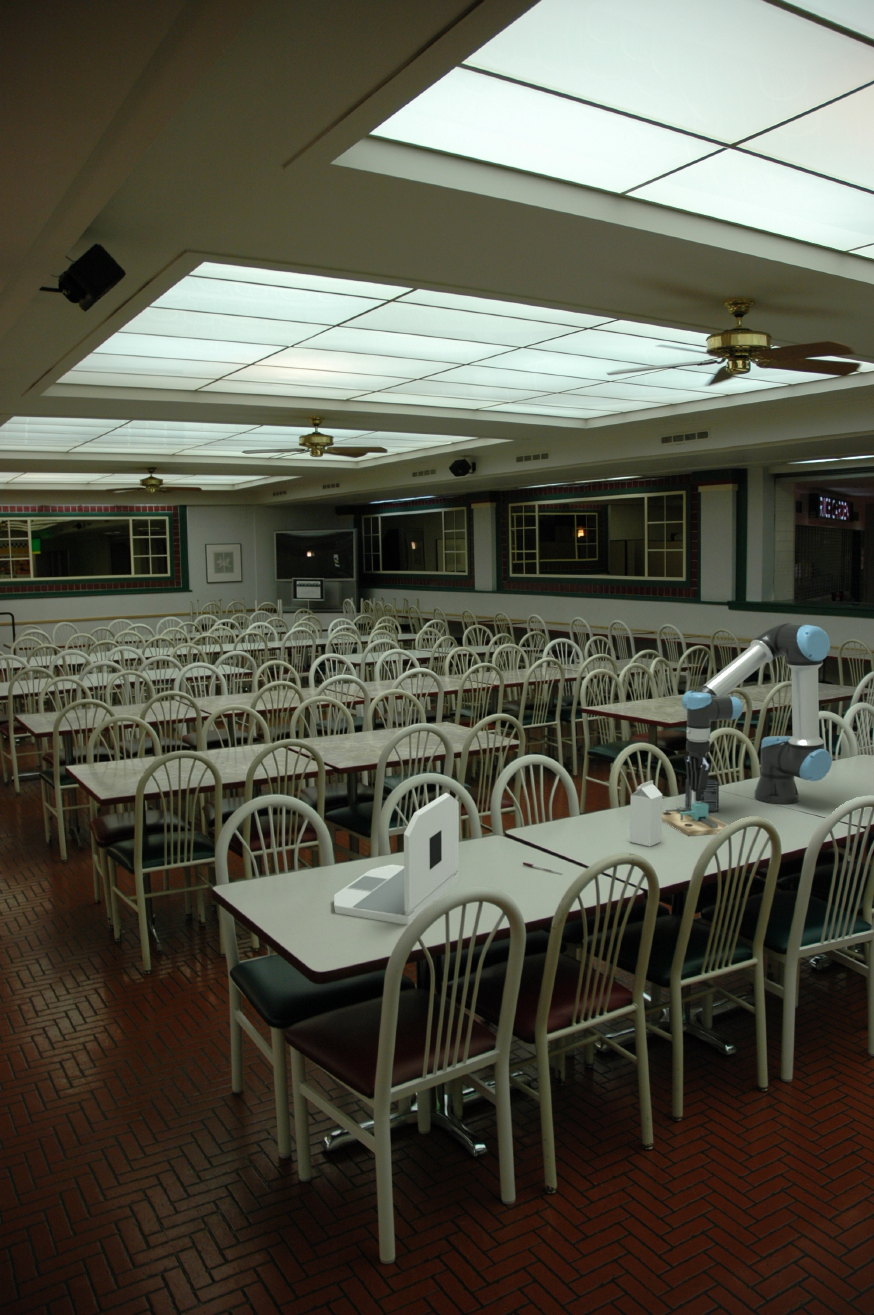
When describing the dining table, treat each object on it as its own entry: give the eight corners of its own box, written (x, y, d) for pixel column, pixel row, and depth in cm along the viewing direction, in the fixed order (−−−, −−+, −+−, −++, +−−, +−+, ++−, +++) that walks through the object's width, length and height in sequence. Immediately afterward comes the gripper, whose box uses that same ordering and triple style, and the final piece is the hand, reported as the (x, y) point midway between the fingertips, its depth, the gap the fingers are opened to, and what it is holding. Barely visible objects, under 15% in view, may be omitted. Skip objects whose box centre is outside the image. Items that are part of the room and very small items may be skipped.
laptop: (379, 870, 264) (378, 779, 261) (459, 881, 255) (459, 787, 252) (321, 912, 233) (319, 809, 230) (409, 926, 224) (408, 820, 221)
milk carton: (661, 842, 288) (663, 782, 286) (649, 847, 283) (651, 786, 281) (641, 837, 293) (642, 778, 291) (629, 842, 287) (630, 782, 285)
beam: (688, 810, 317) (688, 806, 317) (721, 827, 298) (721, 823, 297) (663, 812, 315) (664, 808, 315) (695, 830, 295) (695, 825, 295)
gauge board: (697, 813, 319) (697, 809, 319) (733, 832, 298) (733, 827, 297) (655, 817, 315) (655, 812, 315) (688, 836, 294) (688, 831, 293)
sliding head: (703, 817, 308) (703, 802, 307) (708, 820, 305) (708, 804, 304) (678, 819, 306) (678, 804, 305) (682, 822, 303) (683, 806, 302)
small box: (715, 808, 326) (716, 778, 325) (719, 813, 320) (719, 783, 319) (684, 807, 327) (685, 778, 326) (687, 812, 321) (688, 782, 320)
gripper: (677, 736, 311) (676, 805, 313) (698, 744, 298) (695, 815, 301) (698, 735, 312) (696, 803, 315) (718, 743, 300) (716, 814, 302)
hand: (696, 809), depth 308 cm, fingers closed
